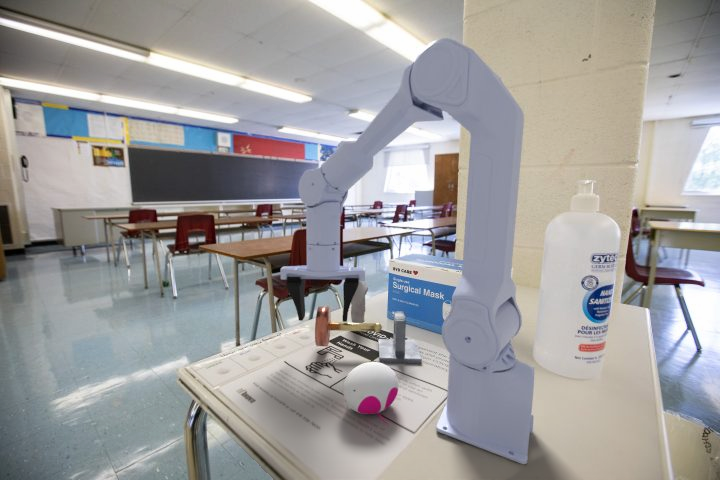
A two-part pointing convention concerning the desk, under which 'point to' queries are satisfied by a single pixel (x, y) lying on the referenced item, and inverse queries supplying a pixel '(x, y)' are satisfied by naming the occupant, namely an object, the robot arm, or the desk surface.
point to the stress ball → (370, 388)
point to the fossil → (359, 303)
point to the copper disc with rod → (337, 326)
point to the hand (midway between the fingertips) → (323, 319)
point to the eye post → (399, 344)
